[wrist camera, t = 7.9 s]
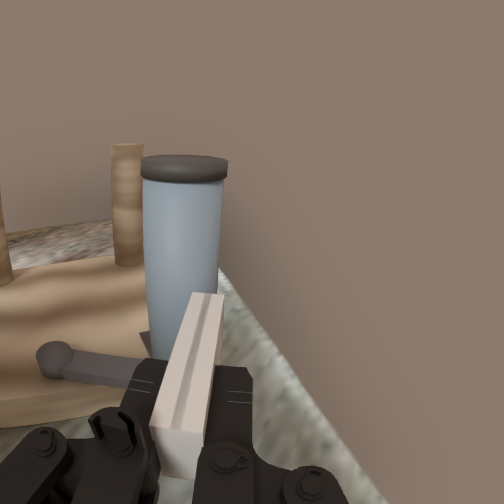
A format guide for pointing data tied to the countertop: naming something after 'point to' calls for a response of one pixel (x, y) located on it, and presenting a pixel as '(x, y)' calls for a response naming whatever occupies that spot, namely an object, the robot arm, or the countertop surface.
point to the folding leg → (161, 263)
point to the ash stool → (75, 311)
